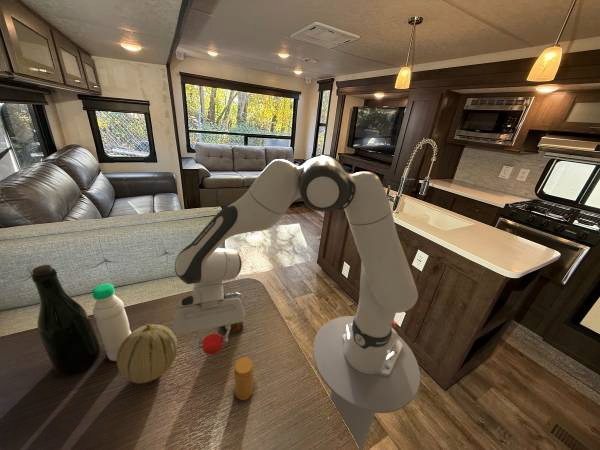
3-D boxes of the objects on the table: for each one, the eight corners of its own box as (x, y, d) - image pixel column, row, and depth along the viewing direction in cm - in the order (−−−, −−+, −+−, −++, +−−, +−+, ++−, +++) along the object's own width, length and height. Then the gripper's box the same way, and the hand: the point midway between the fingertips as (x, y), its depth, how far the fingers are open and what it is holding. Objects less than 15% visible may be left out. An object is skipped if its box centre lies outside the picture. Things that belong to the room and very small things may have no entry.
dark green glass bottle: (45, 375, 69) (-5, 278, 56) (77, 344, 78) (41, 255, 65) (82, 378, 69) (41, 282, 56) (109, 346, 78) (80, 258, 65)
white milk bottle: (106, 349, 77) (85, 285, 67) (133, 338, 82) (116, 276, 72) (109, 366, 73) (86, 299, 62) (137, 354, 77) (119, 289, 67)
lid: (198, 352, 71) (197, 347, 70) (208, 336, 76) (208, 331, 76) (217, 356, 70) (217, 352, 69) (226, 339, 75) (226, 335, 75)
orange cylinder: (247, 378, 72) (247, 353, 68) (256, 392, 69) (257, 366, 65) (232, 389, 69) (230, 363, 65) (240, 404, 66) (239, 378, 62)
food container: (213, 319, 92) (211, 298, 88) (228, 312, 96) (227, 291, 92) (228, 341, 84) (227, 319, 80) (244, 332, 88) (244, 310, 84)
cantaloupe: (121, 405, 64) (107, 366, 57) (124, 359, 75) (112, 322, 69) (183, 379, 71) (177, 342, 65) (177, 341, 82) (171, 306, 76)
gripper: (242, 292, 83) (247, 336, 79) (174, 303, 76) (176, 352, 71) (243, 290, 77) (249, 337, 73) (171, 302, 70) (173, 355, 66)
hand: (212, 345), depth 72 cm, fingers closed on lid, 6 cm apart
